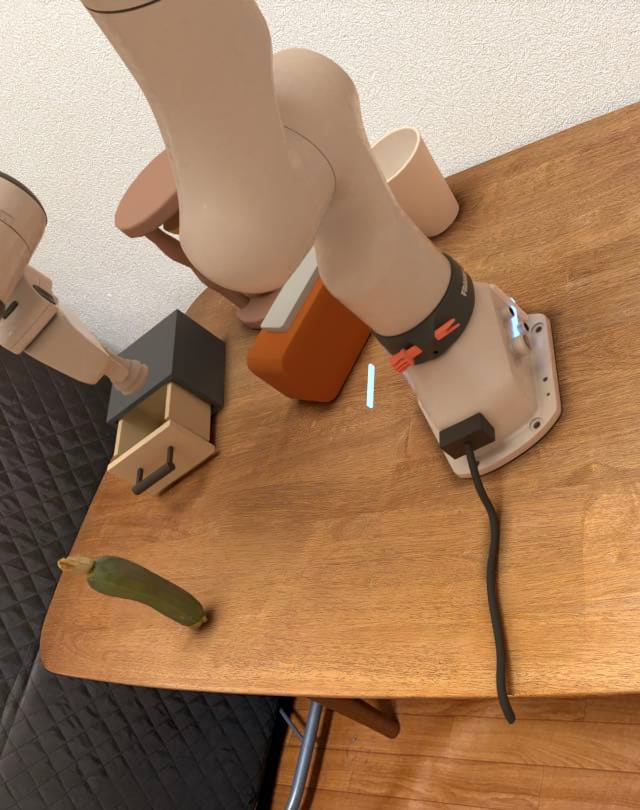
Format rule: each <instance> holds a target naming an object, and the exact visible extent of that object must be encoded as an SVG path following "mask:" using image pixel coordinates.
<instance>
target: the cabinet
mask: <svg viewBox="0 0 640 810" xmlns="http://www.w3.org/2000/svg"><path fill="white" fill-rule="evenodd" d="M225 346H226V342H225V341H223V340H222V339H221V338H219V337H218V336H216V335H215V334H213V333H212V332H211V331H209V329H206V327H204V326H202V325H201V324H200V323H198V322H197V321H195V320H194V319H193V318H191V317H189V316H188V315H187V314H185V313H184V312H183V311H181V310H180V309H179V308H176V309H174V310H173V311H172V312H171V313H169V314H168V315H166V316H165V317H164V318H163V319H161V320H160V321H159V322H158V323H157V324H155V325H154V326H153V327H151V328H150V329H149V330H148V331H146V332H145V333H143V335H141V336H140V337H138V338H137V339H136V340H135V341H133V342H132V343H131V344H129V345H128V346H127V347H126V348H124V349H123V350H122V351H121V352H120V353H118V354H116V355H117V356H119V357H121V358H124V359H130V360H137V361H140V363H141V365H142V364H145V365H146V366H147V367H148V370H149V376H148V378H147V380H146V382H145V384H144V385H143V386H142V387H141V388H140V390H138V391H137V392H136V393H134V394H132V395H123V393H122V391H119V390H117V389H116V388H115V387H114V384H113V383H112V382H111V389H110V395H109V402H108V407H107V415H106V421H105V423H106V424H107V425H109V426H111V427H113V428H114V429H116V430H118V424H119V419H120V418H121V417H122V416H124V415H125V414H126V413H128V412H129V411H130V410H132V409H133V408H134V407H136V406H137V405H138V404H140V403H141V402H142V401H144V400H145V399H146V398H148V397H149V396H150V395H152V394H153V393H154V392H156V391H157V390H158V389H160V388H161V387H162V386H164V385H165V384H166V383H168V382H169V381H170V380H172V379H173V380H174V381H176V382H177V383H179V384H180V385H182V386H183V387H185V388H187V389H188V390H190V391H191V392H193V393H194V394H196V395H198V396H199V397H201V398H202V399H204V400H205V401H207V402H208V403H210V404H211V415H210V417H212V416H213V415H215V414H216V413H217V412H219V411H220V410H222V409H223V408H224V399H225V398H224V395H225V394H224V393H225V353H226V352H225V349H226V347H225Z"/></svg>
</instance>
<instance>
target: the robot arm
mask: <svg viewBox="0 0 640 810" xmlns="http://www.w3.org/2000/svg"><path fill="white" fill-rule="evenodd" d="M79 1H80V3H81V4H82V5H83V7H84V8H85V9H86V11H87V12H88V13H89V15H90V16H91V18H92V19H93V21H94V22H95V23H96V25H97V27H98V28H99V29H100V31H101V32H102V33H103V35H104V36H105V38H106V39H107V41H108V42H109V44H110V45H111V47H112V48H113V49H114V51H115V53H116V54H117V55H118V57H119V58H120V60H121V61H122V63H123V64H124V65H125V67H126V68H127V70H128V72H129V73H130V75H132V77H133V78H134V80H135V82H136V83H137V85H138V86H139V87H138V88H140V91H141V92H142V93H143V96H144V98H145V100H146V101H147V104H148V106H149V108H150V109H151V112H152V115H153V116H154V119H155V121H156V124H157V127H158V130H159V132H160V135H161V138H162V140H163V144H164V147H165V149H166V150H167V154H168V157H169V160H170V164H171V167H172V171H173V175H174V179H175V183H176V188H177V194H178V202H179V222H180V226H179V235H178V238H179V239H178V240H179V241H180V244H181V247H182V249H183V251H184V253H185V255H186V256H187V258H188V259H189V261H190V262H191V263H192V265H194V267H195V268H196V269H197V270H198V271H199V272H200V273H201V274H203V275H204V276H205V277H206V278H208V279H209V280H211V281H212V282H214V283H215V284H217V285H219V286H222V287H224V288H227V289H229V290H233V291H237V292H243V293H264V292H269V291H273V290H276V289H278V288H280V287H282V286H283V285H284V284H285V283H286V282H287V281H288V280H289V278H290V277H291V276H292V274H293V273H294V272H295V271H296V269H297V268H298V267H299V265H300V264H301V263H302V261H303V260H304V258H305V257H306V255H307V254H308V253H309V251H310V250H311V248H312V246H313V244H314V248H315V252H316V260H317V267H318V271H319V274H320V277H321V280H322V282H323V284H324V285H325V287H326V288H327V290H328V291H329V292H330V293H331V294H332V295H333V296H334V297H335V298H336V299H337V300H338V301H340V302H341V303H342V304H343V305H344V306H345V307H347V308H348V309H349V310H350V311H351V312H353V313H354V314H355V315H356V316H357V317H358V318H360V319H361V320H362V321H363V322H364V323H365V324H367V325H368V326H369V328H370V330H371V334H372V335H373V336H374V338H375V339H376V341H377V342H378V343H379V345H380V346H381V347H382V348H383V349H384V351H386V352H387V353H388V354H389V355H390V357H389V361H388V362H389V363H390V365H391V367H392V369H393V370H394V371H395V372H396V373H398V374H402V375H403V377H404V378H405V380H406V381H407V383H408V385H409V386H410V388H411V390H412V391H413V393H414V395H415V397H416V398H417V404H418V406H419V408H420V410H421V412H422V414H423V415H424V418H425V420H426V421H427V423H428V425H429V426H430V430H431V431H432V433H433V435H434V437H435V438H436V440H437V443H438V444H439V449H440V450H441V451H442V452H443V454H444V456H445V458H446V460H447V462H448V464H449V466H450V467H451V469H452V471H453V473H454V474H455V475H456V476H457V478H459V479H472V481H473V486H474V489H475V491H476V494H477V496H478V497H479V499H480V502H481V503H482V505H483V507H484V509H485V511H486V514H487V517H488V520H489V527H490V542H489V549H488V556H487V563H486V571H485V574H486V575H485V580H486V581H485V582H486V596H487V604H488V608H489V610H488V611H489V616H490V620H491V626H492V631H493V637H494V638H493V639H494V645H495V655H496V657H495V659H496V663H495V664H496V666H495V667H496V668H495V670H496V671H495V686H496V694H497V699H498V703H499V706H500V708H501V711H502V713H503V715H504V718H505V719H506V721H507V723H508V724H509V725H514V723H515V722H516V720H517V719H516V713H515V712H514V709H513V707H512V704H511V702H510V699H509V695H508V690H507V681H506V680H507V679H506V675H507V654H506V643H505V638H504V632H503V626H502V619H501V616H500V609H499V603H498V597H497V590H496V589H497V587H496V566H497V559H498V558H497V557H498V551H499V545H500V544H499V543H500V525H499V519H498V515H497V511H496V509H495V507H494V504H493V501H492V500H491V499H490V497H489V495H488V492H487V491H486V489H485V486H484V484H483V480H482V477H481V476H483V475H486V474H489V473H490V472H493V471H494V470H497V469H499V468H500V467H503V466H504V465H506V464H508V463H509V462H511V461H513V460H514V459H516V458H517V457H518V456H520V455H522V454H523V453H525V452H527V450H529V449H530V448H531V447H533V446H534V445H535V444H536V443H537V442H539V441H540V440H541V439H542V438H543V437H544V436H545V435H546V434H547V433H548V432H549V431H550V430H551V428H552V427H553V426H554V425H555V423H556V422H557V420H558V419H559V418H560V416H561V414H562V403H561V394H560V386H559V379H558V371H557V363H556V356H555V355H556V354H555V349H554V339H553V333H552V323H551V320H550V318H549V317H547V316H546V315H545V314H544V313H540V312H539V313H529V314H528V313H526V312H525V311H524V310H523V309H522V308H521V307H520V306H519V305H518V304H517V303H516V301H515V300H514V299H513V298H512V297H510V296H509V295H507V293H505V292H504V291H503V290H502V289H501V288H500V287H499V286H498V285H496V284H493V283H487V282H481V281H478V280H475V279H472V277H471V275H469V273H468V272H467V271H466V270H465V268H464V267H463V266H462V265H461V263H459V262H458V261H457V260H456V259H454V258H453V257H451V256H450V255H449V254H448V253H447V252H443V251H441V250H440V249H439V248H438V247H437V246H436V245H435V244H434V243H433V242H432V241H431V240H430V238H429V237H427V236H426V235H425V234H424V233H423V232H422V231H421V230H420V229H419V227H418V226H417V225H416V224H415V223H414V222H413V221H412V220H411V218H410V217H409V216H408V215H407V214H406V212H405V211H404V210H403V208H402V207H401V205H400V204H399V202H398V201H397V199H396V197H395V196H394V194H393V192H392V191H391V189H390V187H389V185H388V183H387V181H386V179H385V177H384V175H383V173H382V171H381V169H380V167H379V164H378V162H377V160H376V158H375V156H374V153H373V151H372V149H371V146H372V145H371V143H370V141H369V138H368V135H367V132H366V129H365V124H364V120H363V116H362V115H363V114H362V110H361V102H360V96H359V91H358V89H357V87H356V84H355V83H354V81H353V79H352V78H351V76H350V75H349V74H348V73H347V72H346V70H344V69H343V67H341V66H340V65H339V64H338V63H337V62H336V61H334V60H332V58H329V57H328V56H326V55H324V54H322V53H320V52H317V51H315V50H312V49H306V48H300V47H291V48H290V47H289V48H285V49H282V50H279V51H277V52H275V53H274V48H273V41H272V36H271V32H270V29H269V25H268V23H267V20H266V18H265V16H264V14H263V12H262V10H261V8H260V7H259V5H258V3H257V2H256V0H79ZM47 226H48V215H47V212H46V210H45V207H44V206H43V204H42V203H41V201H40V199H39V198H38V196H37V195H36V194H35V193H34V192H33V191H31V189H30V188H29V187H27V186H26V185H25V184H24V183H22V182H21V181H19V179H16V178H15V177H14V176H13V175H10V174H8V173H6V172H3V171H2V170H0V346H1V347H3V348H5V349H6V350H8V351H10V352H11V353H13V354H15V355H21V353H23V352H24V353H25V354H27V355H28V356H30V357H32V358H33V359H35V360H37V361H39V362H41V363H43V364H44V365H46V366H48V367H50V368H52V369H54V370H56V371H58V372H60V373H62V374H64V375H67V376H68V377H69V378H72V379H75V380H76V381H78V382H81V383H83V384H88V385H92V386H93V385H96V384H97V383H98V382H99V381H100V380H101V379H102V378H103V377H104V376H106V377H108V376H109V377H111V378H112V379H114V380H116V381H117V382H122V381H123V380H124V379H125V378H126V377H127V376H128V375H129V371H128V369H127V368H126V367H125V366H123V365H122V364H120V363H119V362H117V361H116V360H115V361H114V360H113V359H112V358H111V357H110V356H109V355H108V354H107V352H106V351H105V350H104V349H103V347H105V346H104V345H103V344H102V343H100V341H98V339H97V338H96V337H95V336H94V334H92V332H91V331H90V330H89V328H88V326H86V325H85V323H84V322H83V321H82V319H81V318H80V317H79V316H78V314H77V313H75V311H74V310H72V309H71V308H70V307H68V306H66V305H65V304H63V303H62V302H60V301H59V297H58V296H57V295H55V294H54V292H53V281H52V279H51V278H50V277H48V276H47V275H45V274H44V273H43V272H41V271H39V270H38V269H36V268H35V267H34V266H32V265H31V264H30V262H31V259H32V257H33V256H34V254H35V252H36V250H37V249H38V246H39V245H40V243H41V241H42V239H43V237H44V234H45V231H46V227H47ZM96 339H97V340H96ZM107 350H108V351H109V352H111V353H113V354H115V353H114V352H113V351H111V350H110V349H108V348H107ZM367 372H368V374H367V394H366V406H367V407H368V408H370V409H372V408H374V389H375V388H374V386H375V383H374V382H375V365H373V364H372V363H369V364H368V371H367ZM109 377H108V378H109Z"/></svg>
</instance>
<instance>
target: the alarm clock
mask: <svg viewBox="0 0 640 810" xmlns="http://www.w3.org/2000/svg"><path fill="white" fill-rule="evenodd" d="M261 328H262V329H260V332H259V333H258V334H257V337H256V338H255V340H254V341H253V343H252V345H251V347H250V348H249V350H248V353H247V355H246V366H247V368H248V370H249V371H250V372H251V373H252V374H253V375H254V376H256V377H257V378H259V379H260V380H262V381H263V382H264V383H266V384H267V385H269V386H271V388H273V389H275V390H276V391H277V392H278V393H280V394H281V395H283V396H285V397H286V398H289V399H291V400H300V401H310V402H318V403H328V402H329V403H330V402H331V401H333V400H334V399H336V397H337V396H338V395H339V393H340V392H341V389H342V387H343V386H344V384H345V382H346V380H347V378H348V376H349V375H350V373H351V371H352V369H353V367H354V365H355V364H356V363H355V362H356V361H357V359H358V357H359V355H360V353H361V351H362V349H363V348H364V346H365V344H366V342H367V340H368V338H369V337H370V335H371V334H372V332H371V330H370V328H369V326H368V325H367V324H365V323H364V322H363V321H362V320H361V319H360V318H358V317H357V316H356V315H355V314H354V313H353V312H351V311H350V310H349V309H348V308H347V307H345V306H344V305H343V304H342V303H341V302H340V301H338V300H337V299H336V298H335V297H334V296H333V295H332V294H331V293H330V292H329V291H328V290H327V288H326V287H325V285H324V284H323V282H322V280H321V277H320V274H319V271H318V267H317V260H316V252H315V248H314V244H313V246H312V248H311V250H310V251H309V253H308V254H307V255H306V257H305V258H304V260H303V261H302V263H301V264H300V265H299V267H298V268H297V269H296V271H295V272H294V273H293V274H292V276H291V277H290V278H289V280H288V281H287V282H286V283H285V285H284V286H283V288H282V290H281V291H280V293H279V295H278V296H277V298H276V300H275V302H274V303H273V305H272V307H271V308H270V310H269V312H268V314H267V315H266V317H265V319H264V320H263V322H262V324H261Z"/></svg>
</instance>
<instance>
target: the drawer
mask: <svg viewBox="0 0 640 810" xmlns="http://www.w3.org/2000/svg"><path fill="white" fill-rule="evenodd" d="M210 415H211V404H210V403H208V402H207V401H205V400H204V399H202V398H201V397H199V396H198V395H196V394H194V393H193V392H191V391H190V390H188V389H187V388H185V387H183V386H182V385H180V384H179V383H177V382H176V381H174V380H173V379H172V380H170V381H169V382H168V383H166V384H165V385H164V386H162V387H161V388H160V389H158V390H157V391H156V392H154V393H153V394H152V395H150V396H149V397H148V398H146V399H145V400H144V401H142V402H141V403H140V404H138V405H137V406H136V407H134V408H133V409H132V410H130V411H129V412H128V413H126V414H125V415H124V416H122V417H121V418H120V419H119V424H118V429H117V431H116V438H115V445H114V451H113V452H114V453H113V457H114V458H116V459H114V460H113V461H111V462H110V463H109V464H108V465H107V468H106V469H107V470H106V472H107V473H110V474H112V475H113V476H115V477H117V478H119V479H121V480H123V481H125V482H127V483H129V484H130V485H133V486H132V488H131V491H132V493H133V494H134V495H136V496H140V495H141V494H143V493H144V492H146V493H148V494H150V495H152V496H155V495H156V494H158V492H160V491H162V490H163V489H164V488H166V487H167V486H169V485H170V484H171V483H173V482H174V481H176V480H177V479H178V478H180V477H181V476H182V475H184V474H186V473H187V472H188V471H190V470H191V469H193V468H194V467H195V466H197V465H198V464H200V463H201V462H202V461H203V460H205V459H207V458H208V457H209V456H211V455H212V454H213V453H214V452H215V447H216V446H215V445H213V444H212V443H210V440H211V439H210V438H211V437H210V436H211V416H210Z"/></svg>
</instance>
